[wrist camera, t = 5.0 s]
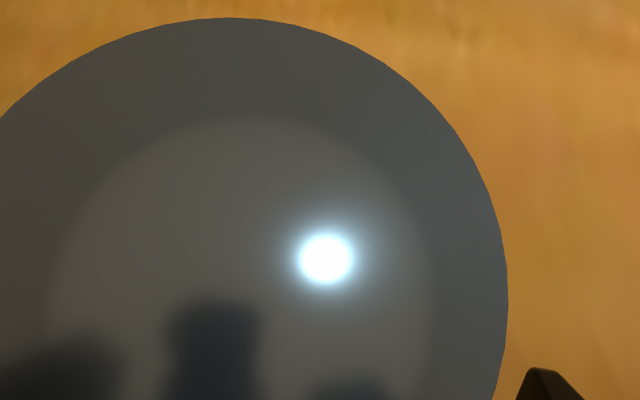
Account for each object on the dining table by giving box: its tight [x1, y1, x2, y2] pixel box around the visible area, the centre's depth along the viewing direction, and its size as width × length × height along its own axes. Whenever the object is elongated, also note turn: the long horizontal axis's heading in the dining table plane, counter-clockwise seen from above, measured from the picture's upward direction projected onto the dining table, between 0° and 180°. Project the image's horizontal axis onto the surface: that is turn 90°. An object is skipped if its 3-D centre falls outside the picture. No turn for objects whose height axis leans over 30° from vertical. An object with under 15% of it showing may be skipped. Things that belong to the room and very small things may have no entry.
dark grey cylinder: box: [0, 18, 508, 400], centre depth 10 cm, size 5×5×13 cm
